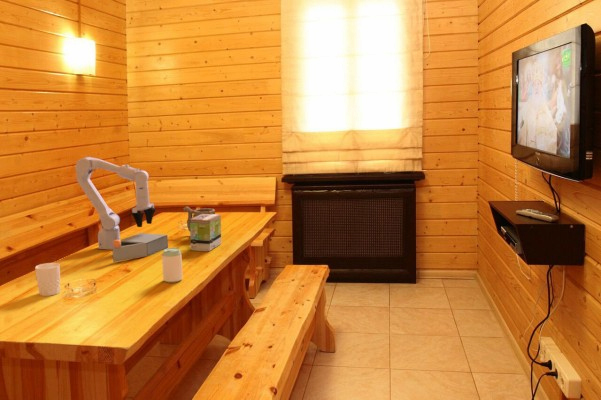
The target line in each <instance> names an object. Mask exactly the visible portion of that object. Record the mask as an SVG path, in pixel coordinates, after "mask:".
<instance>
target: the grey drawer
mask: <svg viewBox="0 0 601 400" xmlns="http://www.w3.org/2000/svg"><path fill="white" fill-rule="evenodd" d="M121 240H122V239H120V240H113V244H114V248H113V250H112V258H113V259H112V261H113V263H116V262H121V261H127V260H133V259H137V258H142V257H148V256H147V243H146V242H144V243H138V244H133V245H127V246H121Z"/></svg>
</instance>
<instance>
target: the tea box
mask: <svg viewBox="0 0 601 400" xmlns="http://www.w3.org/2000/svg"><path fill="white" fill-rule="evenodd" d="M221 218H222V217H221V214H217V213H215V214H201V215H199V216H196V217H194V218H193V217H192V219H190V231H189V233H190V235H189V236H190V238H189V239H190V240H189V241H190V250H191V251H197V252H199V251H200V252H211V251H212V250H214V249H215V248H216V247H218V246H220V245H221V244H222V219H221Z"/></svg>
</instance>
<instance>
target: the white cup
mask: <svg viewBox="0 0 601 400" xmlns="http://www.w3.org/2000/svg"><path fill="white" fill-rule="evenodd" d="M60 266H61V264H60V263H58V262H46V263H40V264H38V265H36V266H35V267H34V269H35V275H36V282H37V287H38V293H39V294H38V295H40V296H42V297H51V296H55V295H58V294H60V292H61V267H60Z"/></svg>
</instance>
